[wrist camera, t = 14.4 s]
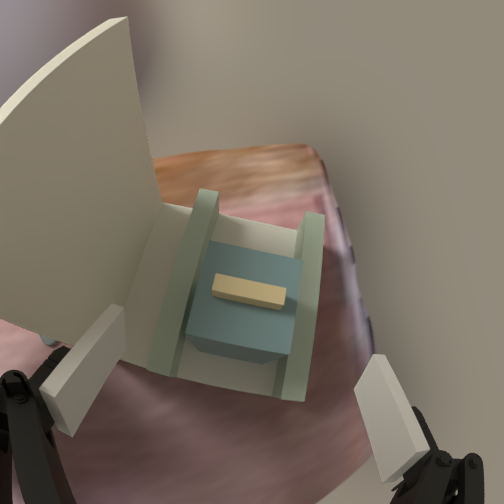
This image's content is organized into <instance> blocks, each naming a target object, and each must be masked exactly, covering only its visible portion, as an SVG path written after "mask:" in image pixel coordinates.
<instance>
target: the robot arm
mask: <svg viewBox="0 0 504 504" xmlns="http://www.w3.org/2000/svg"><path fill="white" fill-rule="evenodd" d="M125 350H126V336H125V307H122V306H118V305H115V304H111V305H110V306H109V307H108V308H107V309H106V310H105V311H104V312H103V313H102V315H101V316H100V317H99V318H98V319H97V320H96V321H95V322H94V323H93V325H92V326H91V327H90V328H89V329H88V330H87V331H86V332H85V334H84V335H83V336H82V337H81V338H80V339H79V340H78V342H77V343H76V344H75V345H74V346H73V347H72V349H70V348H67V347H65V346H62V347H60V348H58V349H56V350H54V351H53V353H52V354H51V355H50V356H49V357H48V359H46V360H45V362H44V363H43V365H41V366H40V367H39V369H38V370H37V371H36V372H35V373H34V374H33V376H32V377H31V378H30V379H29V380H28V379H27V376H26V375H25V374H24V373H23V372H21V371H19V370H10V371H7V372H6V373H4V374H3V375H2V376H1V378H0V386H1V387H0V504H13V501H12V453H13V458H14V463H15V468H16V472H17V477H18V481H19V485H20V488H21V492H22V496H23V499H24V502H25V504H76V502H75V500H74V497H73V495H72V492H71V490H70V487H69V484H68V482H67V479H66V476H65V473H64V470H63V467H62V464H61V461H60V458H59V454H58V451H57V447H56V444H55V440H54V436H53V432H52V430H51V427H52V426H53V424H54V423H55V425H56V427H57V429H58V430H59V431H61V432H63V433H65V434H67V435H69V436H71V437H73V436H74V435H75V433H76V431H77V429H78V427H79V426H80V424H81V422H82V420H83V419H84V417H85V415H86V413H87V412H88V410H89V408H90V407H91V405H92V403H93V401H94V400H95V398H96V396H97V395H98V393H99V391H100V390H101V388H102V386H103V385H104V383H105V382H106V380H107V378H108V377H109V375H110V373H111V372H112V370H113V369H114V367H115V365H116V364H117V362H118V361H119V359H120V357H121V356H122V354H123V353H124V351H125ZM354 392H355V395H356V398H357V402H358V405H359V408H360V411H361V414H362V417H363V420H364V424H365V427H366V430H367V434H368V437H369V440H370V444H371V447H372V450H373V454H374V457H375V461H376V464H377V468H378V472H379V475H380V479H381V483H388V482H393V481H396V480H397V479H398V478H399V477H401V476H402V475H403V478H404V480H403V481H402V482H400V483H399V484H398V485H397V486H395V487H394V488H393V489H392V490H391V491H394V490H396V489H397V488H398V489H397V491H396V493H395V495H394V497H393V499H392V501H391V502H390V504H484V470H483V462H482V459H481V457H480V456H479V455H477V454H475V453H469V454H467V455H466V456H465V457H464V458H463V459H453V458H452V457H451V456H450V454H449V453H447V452H446V451H442V450H439V449H438V447H437V445H436V442H435V440H434V438H433V436H432V434H431V432H430V430H429V428H428V425H427V423H426V422H425V419H424V417H423V415H422V413H421V412H420V411H419V410H418V409H417V408H416V407H415V406H414V407H411V406H410V404H409V402H408V400H407V398H406V396H405V394H404V391H403V389H402V388H401V385H400V384H399V382H398V380H397V378H396V376H395V374H394V372H393V370H392V368H391V366H390V364H389V362H388V361H387V358H386V356H385V355H379V354H373V355H372V357H371V359H370V361H369V363H368V365H367V367H366V368H365V370H364V372H363V374H362V376H361V377H360V379H359V381H358V383H357V384H356V386H355V388H354ZM456 490H458V494H457V495H455V491H456Z"/></svg>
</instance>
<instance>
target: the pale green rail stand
mask: <svg viewBox="0 0 504 504" xmlns="http://www.w3.org/2000/svg"><path fill="white" fill-rule="evenodd" d="M324 225H325V215H321V214H317V213H313V212H309V211H306V213H305V215H304V217H303V219H302V221H301V223H300V225H299V227H298V229H297V230H293V229H289V228H284V227H280V226H275V225H271V224H266V223H261V222H257V221H252V220H247V219H243V218H238V217H233V216H228V215H223V214H219V192H216V191H211V190H206V189H199V192H198V195H197V198H196V201H195V203H194V206H193V208H188V207H183V206H178V205H172V204H167V203H163V202H162V198H161V194H160V190H159V186H158V182H157V178H156V174H155V170H154V166H153V162H152V157H151V153H150V149H149V145H148V139H147V135H146V130H145V126H144V120H143V115H142V110H141V104H140V99H139V93H138V88H137V82H136V76H135V69H134V63H133V56H132V48H131V41H130V33H129V24H128V17H122V18H114V19H109V20H107V21H106V22H104V23H102V24H101V25H99V26H98V27H96V28H95V29H93V30H91V31H90V32H88V33H87V34H85V35H84V36H82V37H81V38H80V39H78V40H77V41H75V42H74V43H72V44H71V45H70V46H68V47H67V48H66V49H64V50H63V51H62V52H60V53H59V54H58V55H57V56H55V57H54V58H53V59H52V60H50V61H49V62H48V63H47V64H46V65H44V66H43V67H42V68H41V69H40V70H39V71H37V72H36V73H35V74H34V75H33V76H32V77H31V78H30V79H29V80H28V81H26V82H25V83H24V84H23V85H22V86H21V87H20V88H19V89H18V90H17V91H16V92H15V93H14V94H13V95H12V96H11V97H10V98H9V99H8V101H7V102H6V103H5V104H4V105H3V106H2V107H1V108H0V318H1V319H3V320H5V321H7V322H10V323H12V324H14V325H17V326H19V327H22V328H24V329H27V330H29V331H32V332H35V333H37V334H40V335H43V336H45V337H48V338H51V339H54V340H57V341H60V342H63V343H66V344H69V345H72V346H74V345H75V344H76V343H77V342H78V340H79V339H80V338H81V337H82V336H83V335H84V334H85V332H86V331H87V330H88V329H89V328H90V327H91V326H92V325H93V323H94V322H95V321H96V320H97V319H98V318H99V317H100V316H101V315H102V313H103V312H104V311H105V310H106V309H107V308H108V307H109V306H110V305H111V304H115V305H118V306H122V307H125V336H126V350H125V351H124V353H123V354H122V356H121V357H120V359H119V360H122V361H125V362H128V363H131V364H134V365H137V366H140V367H144V368H146V370H147V371H151V372H154V373H157V374H161V375H164V376H168V377H178V378H182V379H186V380H190V381H194V382H198V383H203V384H207V385H211V386H216V387H221V388H226V389H231V390H236V391H242V392H247V393H253V394H259V395H266V396H272V397H275V398H278V399H282V400H291V401H300V402H305V396H306V390H307V384H308V378H309V371H310V365H311V358H312V351H313V343H314V336H315V328H316V319H317V310H318V301H319V291H320V280H321V269H322V256H323V242H324ZM210 240H211V241H216V242H220V243H225V244H230V245H234V246H239V247H244V248H248V249H253V250H258V251H262V252H267V253H271V254H276V255H281V256H285V257H290V258H295V259H299V260H303V263H302V271H301V280H300V287H299V295H298V303H297V310H296V317H295V324H294V330H293V337H292V343H291V350H290V355H287V356H285V357H282V358H279V359H276V360H273V361H270V362H267V363H264V364H258V363H252V362H247V361H242V360H237V359H232V358H227V357H222V356H218V355H213V354H209V353H205V352H200V351H199V350H198V349H197V348H196V347H195V345H194V344H193V343H192V342H191V340H190V339H189V338H188V336H187V335H186V334H185V332H186V328H187V324H188V320H189V316H190V312H191V308H192V304H193V300H194V296H195V292H196V289H197V285H198V281H199V277H200V274H201V270H202V266H203V263H204V259H205V256H206V252H207V249H208V245H209V242H210Z"/></svg>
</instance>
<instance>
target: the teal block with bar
mask: <svg viewBox="0 0 504 504" xmlns="http://www.w3.org/2000/svg"><path fill="white" fill-rule="evenodd" d="M302 263H303V260H299V259H295V258H290V257H285V256H281V255H276V254H271V253H267V252H262V251H258V250H253V249H248V248H244V247H239V246H234V245H230V244H225V243H220V242H216V241H211V240H210V242H209V245H208V249H207V252H206V256H205V259H204V263H203V266H202V270H201V274H200V277H199V281H198V285H197V289H196V292H195V296H194V300H193V304H192V308H191V312H190V316H189V320H188V324H187V328H186V332H185V334H186V335H187V336H188V338H189V339H190V340H191V342H192V343H193V344H194V345H195V347H196V348H197V349H198V350H199V351H200V352H205V353H209V354H213V355H218V356H222V357H227V358H232V359H237V360H242V361H247V362H252V363H258V364H264V363H267V362H270V361H273V360H276V359H279V358H282V357H285V356H287V355H290V350H291V343H292V337H293V330H294V324H295V317H296V310H297V303H298V295H299V287H300V280H301V271H302Z"/></svg>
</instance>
